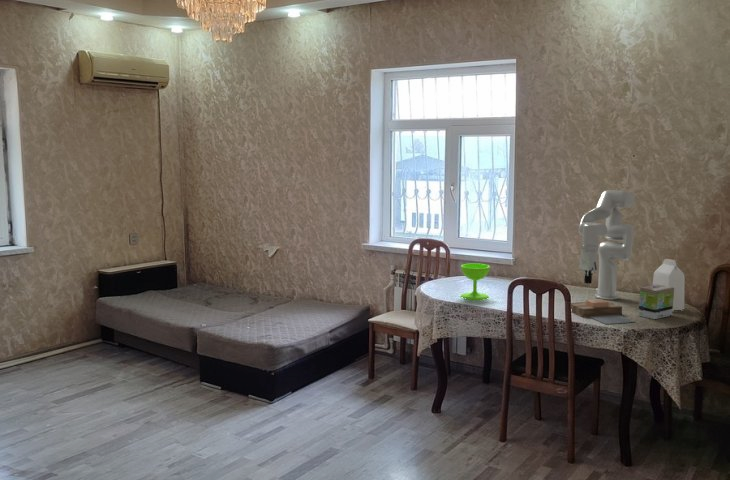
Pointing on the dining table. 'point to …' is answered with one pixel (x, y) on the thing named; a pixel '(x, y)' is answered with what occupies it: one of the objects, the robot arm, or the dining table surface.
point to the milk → (671, 281)
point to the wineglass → (475, 279)
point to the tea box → (656, 301)
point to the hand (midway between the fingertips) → (587, 283)
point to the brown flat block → (595, 310)
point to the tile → (597, 303)
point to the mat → (611, 319)
